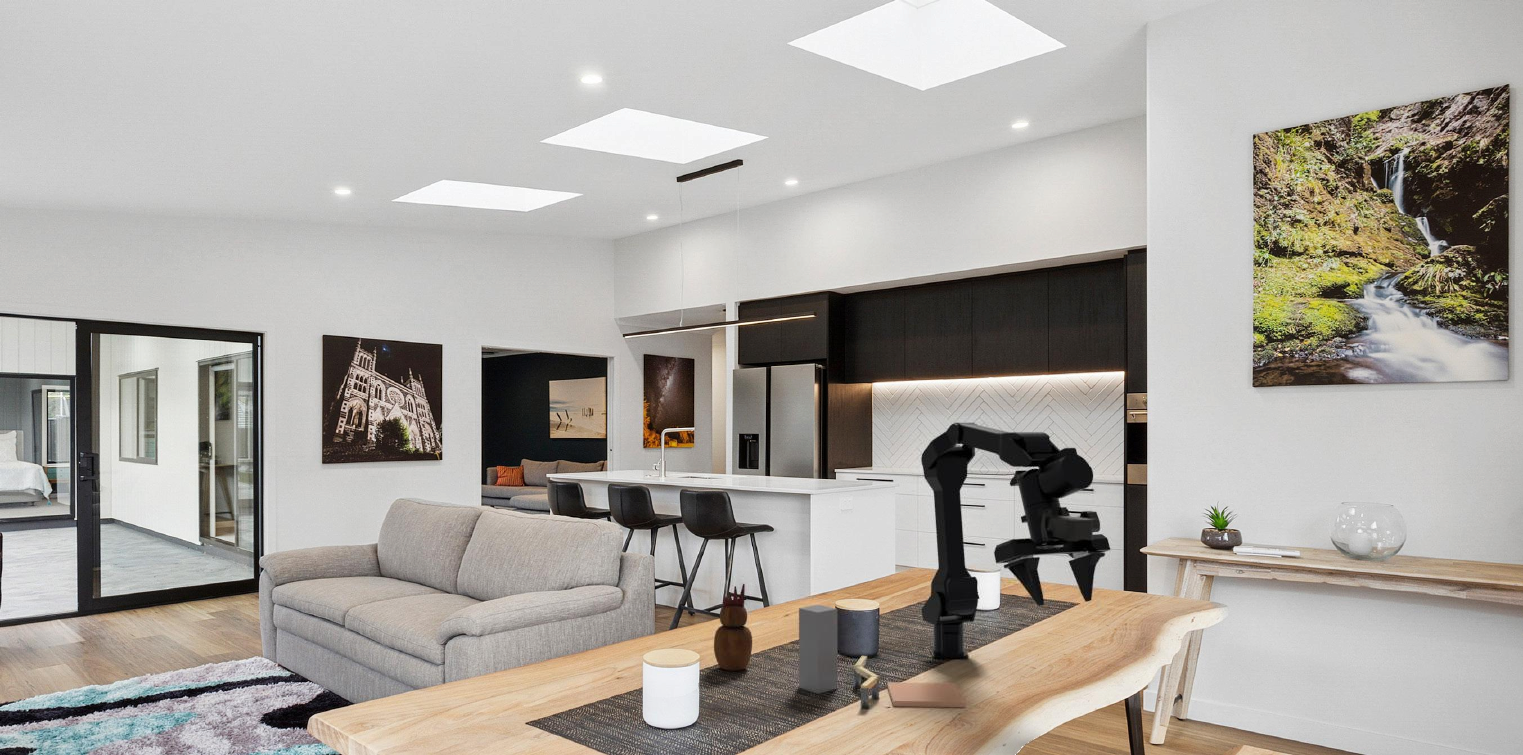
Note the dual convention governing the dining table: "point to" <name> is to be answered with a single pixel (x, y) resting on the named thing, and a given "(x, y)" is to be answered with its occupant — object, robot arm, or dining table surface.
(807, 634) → the gray pillar
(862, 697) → the bent wire
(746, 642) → the wooden figurine
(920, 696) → the terracotta tile
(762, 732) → the dining table surface
